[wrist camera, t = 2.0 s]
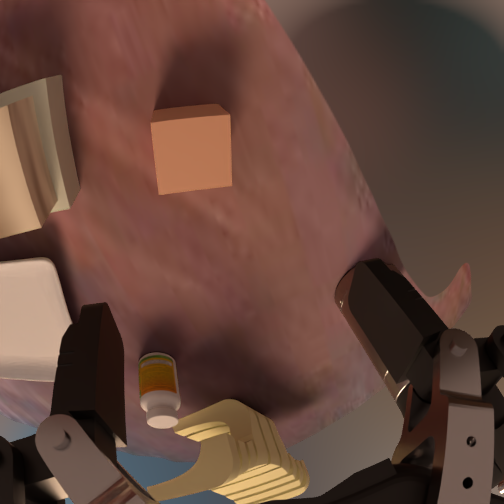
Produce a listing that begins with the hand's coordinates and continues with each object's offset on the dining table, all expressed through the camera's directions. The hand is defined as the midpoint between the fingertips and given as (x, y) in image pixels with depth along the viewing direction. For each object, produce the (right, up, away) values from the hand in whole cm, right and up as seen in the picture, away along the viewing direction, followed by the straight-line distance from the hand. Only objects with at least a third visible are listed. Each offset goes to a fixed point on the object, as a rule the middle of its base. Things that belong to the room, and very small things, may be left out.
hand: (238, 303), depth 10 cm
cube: (-5, +12, +17) cm, 21 cm away
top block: (-20, +9, +9) cm, 23 cm away
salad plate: (-31, -6, +22) cm, 38 cm away
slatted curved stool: (-5, -31, +47) cm, 56 cm away
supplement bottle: (-13, -14, +32) cm, 38 cm away
